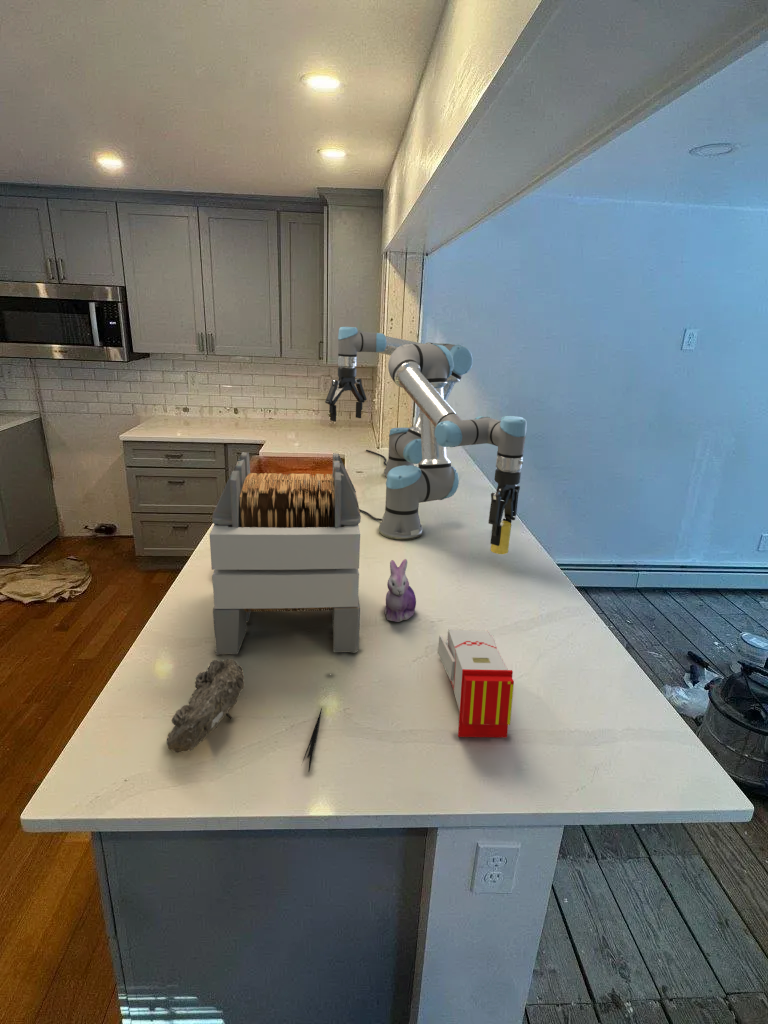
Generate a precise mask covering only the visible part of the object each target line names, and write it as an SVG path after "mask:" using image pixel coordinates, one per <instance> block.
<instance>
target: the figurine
mask: <svg viewBox="0 0 768 1024" xmlns="http://www.w3.org/2000/svg"><path fill="white" fill-rule="evenodd" d="M407 567H408V559H406V558H404V559H403V560H402V561H401V563H400V565H399V566H398V565H397V563H396V562H395V561H394V560H393V559H391V560H390V561H389V570H390V576H389V578H388V579H387V589H388V591H387V592H386V594H385V595H386V596H385V607H384V615H385V616H386V620H387V621H391V622H395V623H400V622H402V621H406V620H409V619H410V618H411V617H413V616H414V615H415V610H416V606H417V597H416V593H415V591H414V590H413V587H411V586H410V582H409V579H408V577H407V574H406V571H407Z"/></svg>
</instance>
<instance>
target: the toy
mask: <svg viewBox="0 0 768 1024" xmlns="http://www.w3.org/2000/svg"><path fill="white" fill-rule="evenodd" d="M446 640H447V643H446V641H445V639H444V636H443V635H442V634H439V637H438V646H437V656H438V657H439V659H440V661H441V663H442V666H443V668H444V670H445V672H446V674H447V677H448V679H449V681H450V684H451V687H452V690H453V693H454V697H455V701H456V705H457V708H458V711H459V714H458V715H459V716H458V730H457V731H458V732H457V737H458V738H508V731H509V726H510V725H511V717H512V707H513V697H514V696H513V695H514V684H515V680H514V679H513V673H514V671H513V670H512V669H508V667H507V665H506V662H505V661H504V659H503V658H502V655H501V653H500V651H499V649H498V647H497V643H496V639H495V637H494V635H493V634H491V632H490V631H489V629H467V628H466V629H465V628H463V629H461V628H460V629H459V628H448V630H447V639H446Z"/></svg>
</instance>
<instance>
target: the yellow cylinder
mask: <svg viewBox="0 0 768 1024" xmlns="http://www.w3.org/2000/svg"><path fill="white" fill-rule="evenodd" d="M500 525H502V527H501V536H500V544H499V546H496V545H493V544H490V551H491V553H494V554H496V555H506V554H508V553H509V548H510V541H511V532H512V522H511V523H510V522H508V521H503V519H501V523H500Z"/></svg>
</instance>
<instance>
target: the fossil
mask: <svg viewBox="0 0 768 1024" xmlns="http://www.w3.org/2000/svg"><path fill="white" fill-rule="evenodd" d="M243 670H244V669H243V667H242V665H240V664H237V662H236V661H235V660H234V659H232V658H231V659H227V658H226V659H224V660H223V661H222V660H217V659H212V660H211V661H210V663H209V665H208V666H207V671H201V672H199V673H198V674H197V675H196V676H195V680H194V684H195V685H194V687H195V689H194V690H193V693H192V694H191V697H190V698H189V700H188V704H184V705H182V706H181V707H180V709H177V710H176V711H175V713H174V715H173V716H172V718H171V723H172V724H173V727H172V730H171V731H170V732H168V734H167V738H166V741H167V742H166V745H167V749H168V750H169V751H173V752H174V753H176V754H178V753H182V752H188V751H189V752H192V751H193V750H195V748H196V747H197V746H199V744H200V743H201V742H203V741H204V740H205V739H206V738H207V737H208V736H209V735H210V734H211V733H212V732H214V730H215V729H217V727H218V726H219V724H220V722H221V721H222V720H223V719H224V718H225V716H226V717H227V719H229V720H233V717H232V715H230V714H229V710H230V709H231V708H234V706H235V704H236V703H237V702H238V699H239V697H240V695H241V693H242V691H243V690H245V689H244V688H245V675H244V671H243Z"/></svg>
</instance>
